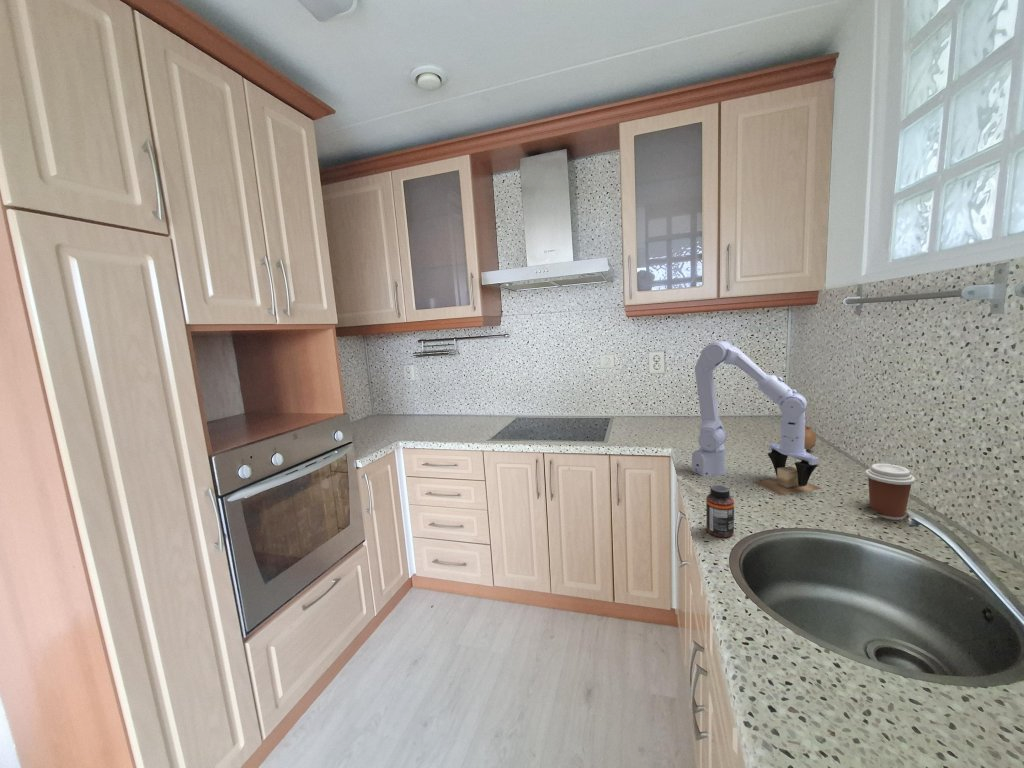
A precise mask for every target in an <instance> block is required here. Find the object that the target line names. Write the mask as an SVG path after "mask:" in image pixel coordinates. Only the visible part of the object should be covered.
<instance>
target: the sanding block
mask: <svg viewBox="0 0 1024 768" xmlns="http://www.w3.org/2000/svg"><path fill="white" fill-rule="evenodd" d="M776 478H777V484H778V485H780V486H782V487H784V488H786V489H789V488H796V487H802V486H799V485H798V473H797V469H796V466H795V465H791V466H789V465H788V466H785V467H782V468H777V476H776Z"/></svg>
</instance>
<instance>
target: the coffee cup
mask: <svg viewBox="0 0 1024 768" xmlns="http://www.w3.org/2000/svg"><path fill="white" fill-rule="evenodd" d="M864 475H865V476H866V477H867V481H868V499H869V500H868V502H869V503H868V504H869V507H870V509H872V510H873V511H876V512H878V513H873V515H874V516H876V517H879V518H882V519H886V520H893V521H896V520H897V521H899V520H900V519H901V520H904V519H905V517H906V513H905V511H906V512H907V507H908V502H909V497H910V493H911V492H910V491H911V487H912V485H913V484H915V483H916V480H917V478H915V476H914V475H912V474H911V470H909V469H908V468H907V467H904V466H900V465H896V464H890V463H873V464H872V465H870V468H868V469H866V470H865V471H864ZM903 518H904V519H903Z"/></svg>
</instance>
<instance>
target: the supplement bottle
mask: <svg viewBox="0 0 1024 768" xmlns="http://www.w3.org/2000/svg"><path fill="white" fill-rule="evenodd" d="M709 492H710V493H708V494H707V495H706V502H705V505H706V507H705V508H706V512H705V513H706V516H705V518H706V520H705V521H706V523H705V524H706V531H707V532H708V533H709V534H711V535H713V536H715V537H718V538H723V539H724V538H729V537H732V536H733V535H734V532H735V501H734V498H733V497H732V496H730V488H729V487H727V486H725V485H718V484H715V485H711V487H710V491H709Z"/></svg>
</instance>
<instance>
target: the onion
mask: <svg viewBox="0 0 1024 768" xmlns="http://www.w3.org/2000/svg"><path fill="white" fill-rule="evenodd" d="M816 442H817V435H816V433H815V432H814V431H813V430H812V429H811V427H809V426H807V425H805V444H804V449H806V451H808V450H811V449H813V448H814V447H815V446H816Z"/></svg>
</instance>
